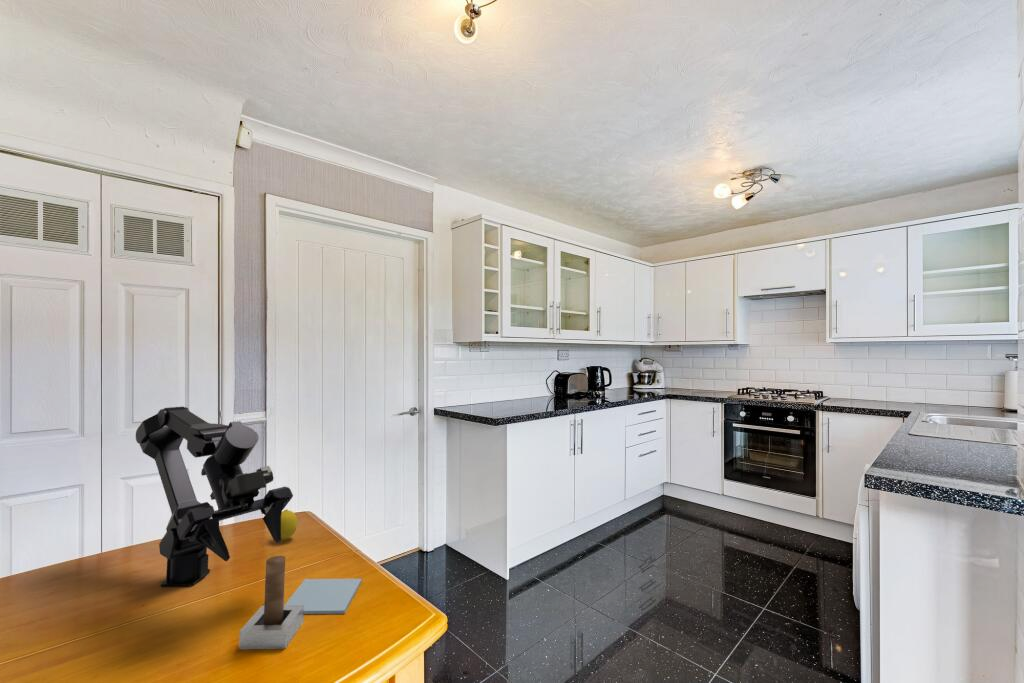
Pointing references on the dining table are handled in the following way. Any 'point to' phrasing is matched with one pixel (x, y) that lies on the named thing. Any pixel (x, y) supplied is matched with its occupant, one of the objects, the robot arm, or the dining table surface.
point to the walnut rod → (274, 590)
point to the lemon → (288, 524)
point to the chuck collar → (271, 629)
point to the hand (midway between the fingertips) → (254, 550)
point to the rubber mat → (325, 595)
